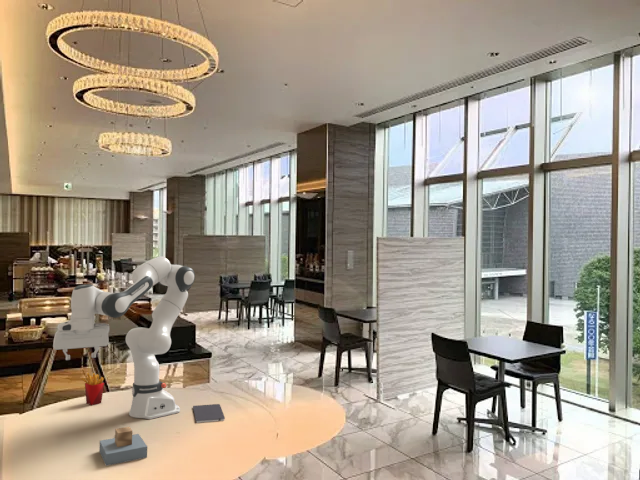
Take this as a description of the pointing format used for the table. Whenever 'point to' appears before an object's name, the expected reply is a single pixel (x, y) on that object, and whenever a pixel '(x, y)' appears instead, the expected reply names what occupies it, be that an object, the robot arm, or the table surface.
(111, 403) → the table surface
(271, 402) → the table surface
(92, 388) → the french fries
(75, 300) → the robot arm
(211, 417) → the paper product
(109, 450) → the slate plinth
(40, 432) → the table surface
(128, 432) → the walnut cube
